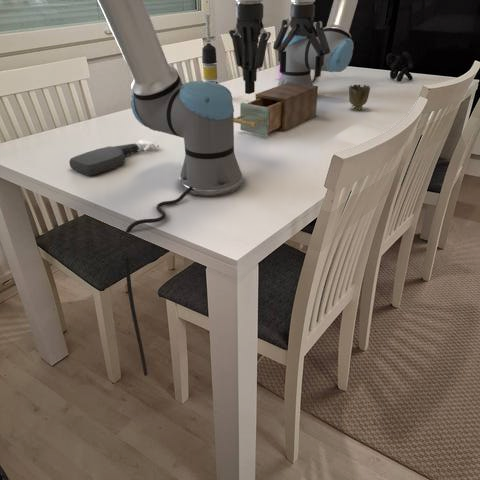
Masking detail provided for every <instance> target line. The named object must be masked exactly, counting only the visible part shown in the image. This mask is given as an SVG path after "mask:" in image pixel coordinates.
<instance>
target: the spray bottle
mask: <svg viewBox="0 0 480 480" xmlns="http://www.w3.org/2000/svg"><path fill="white" fill-rule="evenodd" d="M159 148H160V145H159V144H158V143H155V142H151V141H148V140H144V139H139V140H138V141H137V142H135V143H129V144H128V143H126V144H122V145H113V146H105V147H100V148H97V149H94V150H90V151H87V152H83V153H81V154H78V155H74V156H73V157H70V159H69V161H68V162H69V167H70V168H71V169H72V170H74V171H75V172H78V173H81V174H83V175H85V176H89V177H90V176H91V177H92V176H95V175H99V174H102V173H105V172H107V171H110V170H113V169H116V168H118V167H120V166H122V165H123V164H124V163H125V158H126V156H127V155H131V154H133V153H138V151H140V150H143V151H144V152H146V151H147V150H149V149H159Z"/></svg>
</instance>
